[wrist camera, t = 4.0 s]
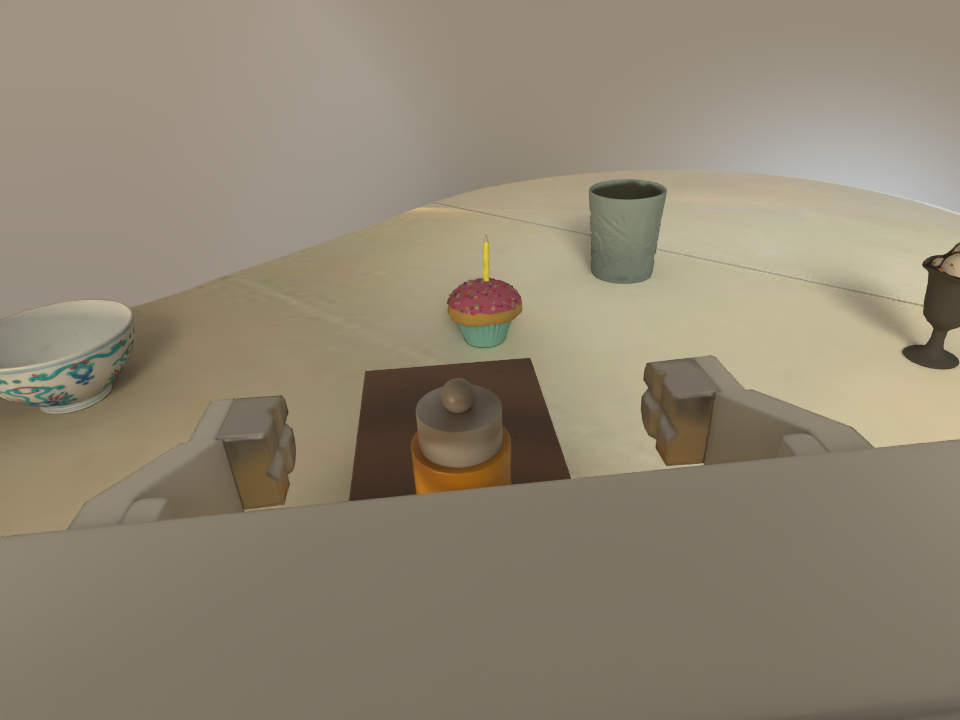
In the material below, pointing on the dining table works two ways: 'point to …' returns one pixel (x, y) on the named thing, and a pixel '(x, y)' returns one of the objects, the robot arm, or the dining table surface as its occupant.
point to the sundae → (940, 310)
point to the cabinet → (394, 424)
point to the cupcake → (484, 307)
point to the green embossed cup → (625, 228)
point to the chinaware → (64, 353)
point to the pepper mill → (460, 440)
